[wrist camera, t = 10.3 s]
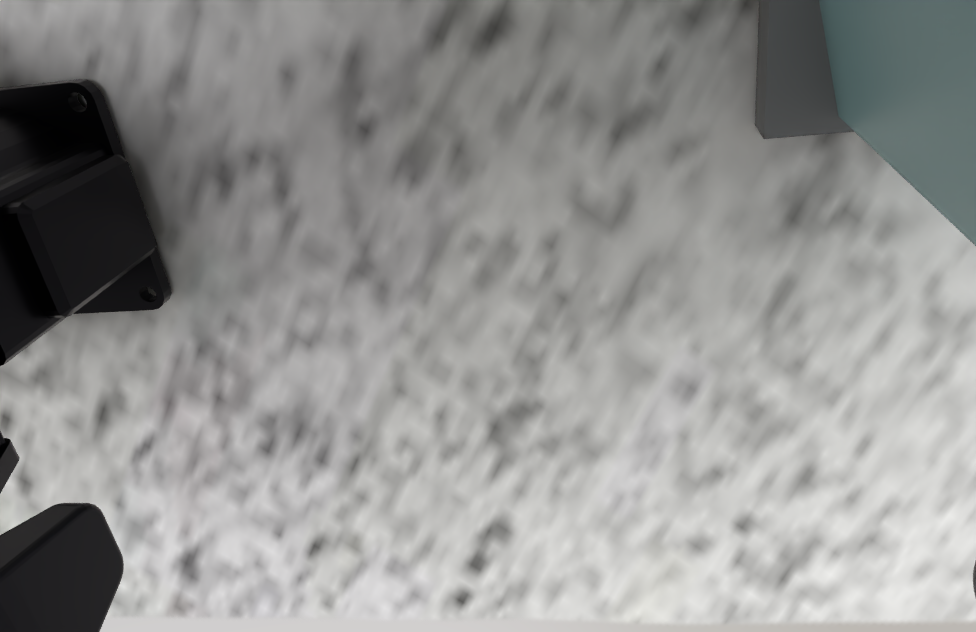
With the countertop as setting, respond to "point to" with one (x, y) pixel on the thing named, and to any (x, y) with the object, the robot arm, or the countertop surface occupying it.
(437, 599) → the countertop surface
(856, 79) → the module
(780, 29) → the foam pad
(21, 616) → the robot arm
